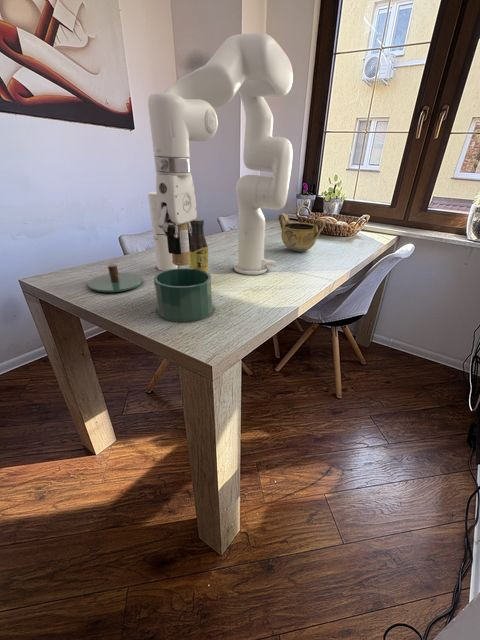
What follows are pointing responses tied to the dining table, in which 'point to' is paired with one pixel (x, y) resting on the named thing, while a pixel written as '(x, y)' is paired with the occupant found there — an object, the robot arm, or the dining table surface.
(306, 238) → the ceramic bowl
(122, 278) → the lid
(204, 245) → the sauce bottle
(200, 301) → the canister
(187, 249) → the sprinkles bottle
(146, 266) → the dining table surface
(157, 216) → the cylindrical container
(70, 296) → the dining table surface
